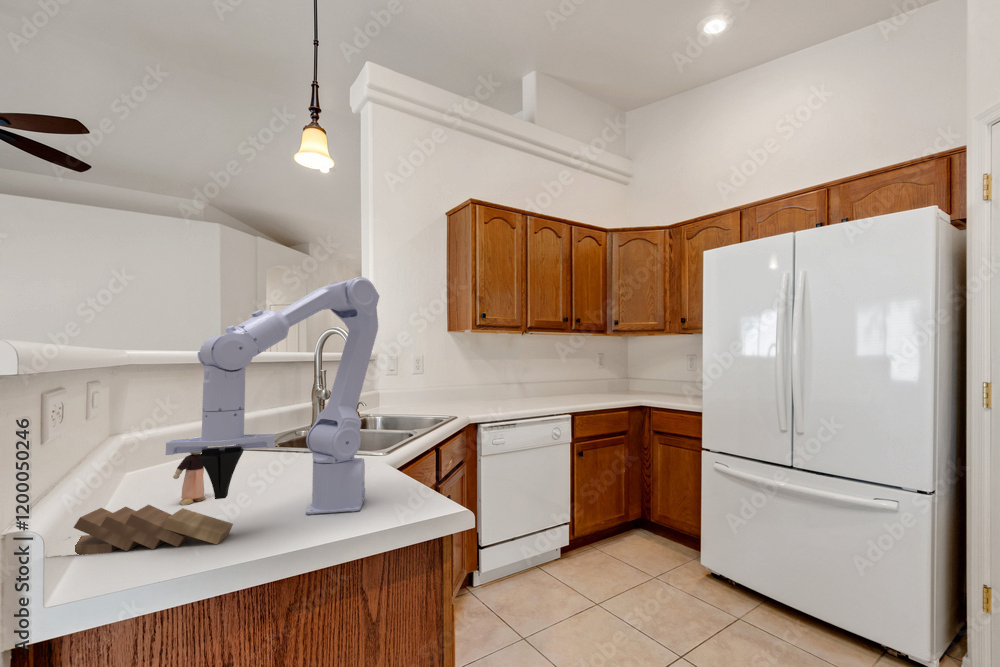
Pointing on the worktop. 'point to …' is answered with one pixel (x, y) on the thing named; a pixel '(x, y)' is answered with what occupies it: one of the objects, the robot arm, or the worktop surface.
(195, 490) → the grandmother figurine
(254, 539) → the worktop surface
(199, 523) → the domino
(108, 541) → the domino
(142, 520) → the domino
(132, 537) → the domino
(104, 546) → the domino
